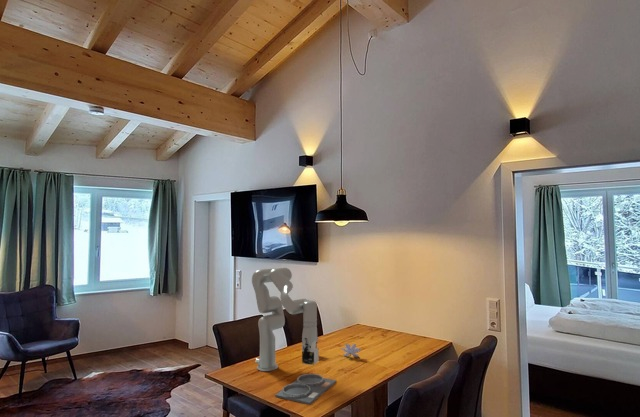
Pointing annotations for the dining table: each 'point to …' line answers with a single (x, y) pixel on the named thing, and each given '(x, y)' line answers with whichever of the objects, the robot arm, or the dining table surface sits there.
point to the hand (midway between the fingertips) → (310, 356)
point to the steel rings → (300, 384)
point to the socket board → (314, 391)
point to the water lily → (351, 350)
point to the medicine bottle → (311, 355)
